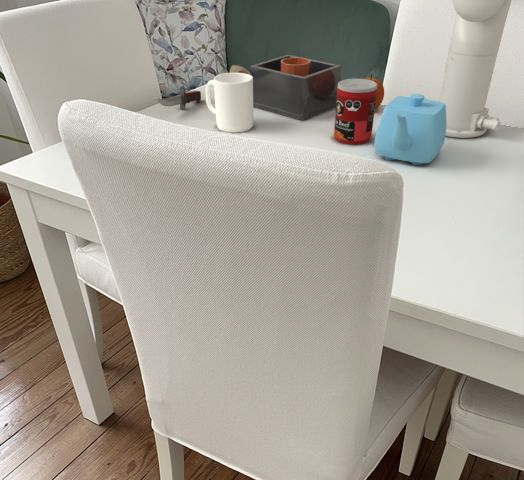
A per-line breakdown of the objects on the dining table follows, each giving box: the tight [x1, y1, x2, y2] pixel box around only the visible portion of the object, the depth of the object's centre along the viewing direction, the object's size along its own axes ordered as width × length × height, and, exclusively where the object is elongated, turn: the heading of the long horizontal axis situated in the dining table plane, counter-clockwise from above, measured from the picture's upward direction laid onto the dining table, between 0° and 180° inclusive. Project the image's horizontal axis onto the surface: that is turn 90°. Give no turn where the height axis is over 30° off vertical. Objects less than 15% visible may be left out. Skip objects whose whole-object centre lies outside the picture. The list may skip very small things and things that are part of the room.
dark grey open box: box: [249, 54, 342, 122], centre depth 135 cm, size 16×14×9 cm
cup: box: [205, 72, 255, 133], centre depth 125 cm, size 8×12×10 cm
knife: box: [156, 87, 202, 110], centre depth 134 cm, size 17×1×5 cm, turn 152°
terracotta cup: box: [281, 56, 311, 77], centre depth 134 cm, size 7×7×9 cm
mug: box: [228, 64, 250, 75], centre depth 143 cm, size 8×10×10 cm
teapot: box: [373, 93, 447, 166], centre depth 109 cm, size 12×18×12 cm
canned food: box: [333, 78, 377, 146], centre depth 117 cm, size 8×8×11 cm
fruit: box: [364, 73, 385, 110], centre depth 133 cm, size 7×7×8 cm
